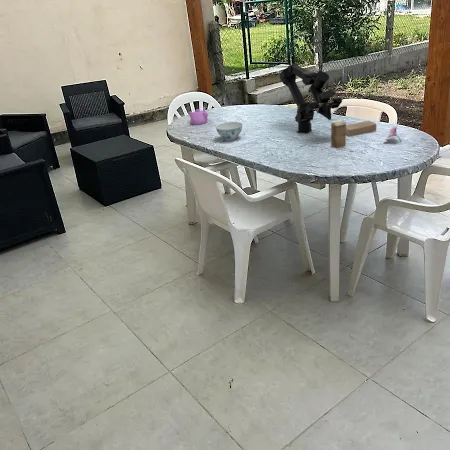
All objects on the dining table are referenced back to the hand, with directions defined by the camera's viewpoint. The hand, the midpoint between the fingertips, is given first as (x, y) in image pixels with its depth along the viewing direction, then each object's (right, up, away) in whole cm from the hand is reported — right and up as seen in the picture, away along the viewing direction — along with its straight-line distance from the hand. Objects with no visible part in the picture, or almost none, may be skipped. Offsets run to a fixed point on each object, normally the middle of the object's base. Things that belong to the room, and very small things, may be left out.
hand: (330, 119), depth 223 cm
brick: (+19, -4, +16) cm, 25 cm away
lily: (+30, -12, -3) cm, 32 cm away
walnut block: (+4, -13, -1) cm, 14 cm away
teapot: (-70, +14, +71) cm, 101 cm away
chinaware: (-50, -4, +30) cm, 58 cm away
